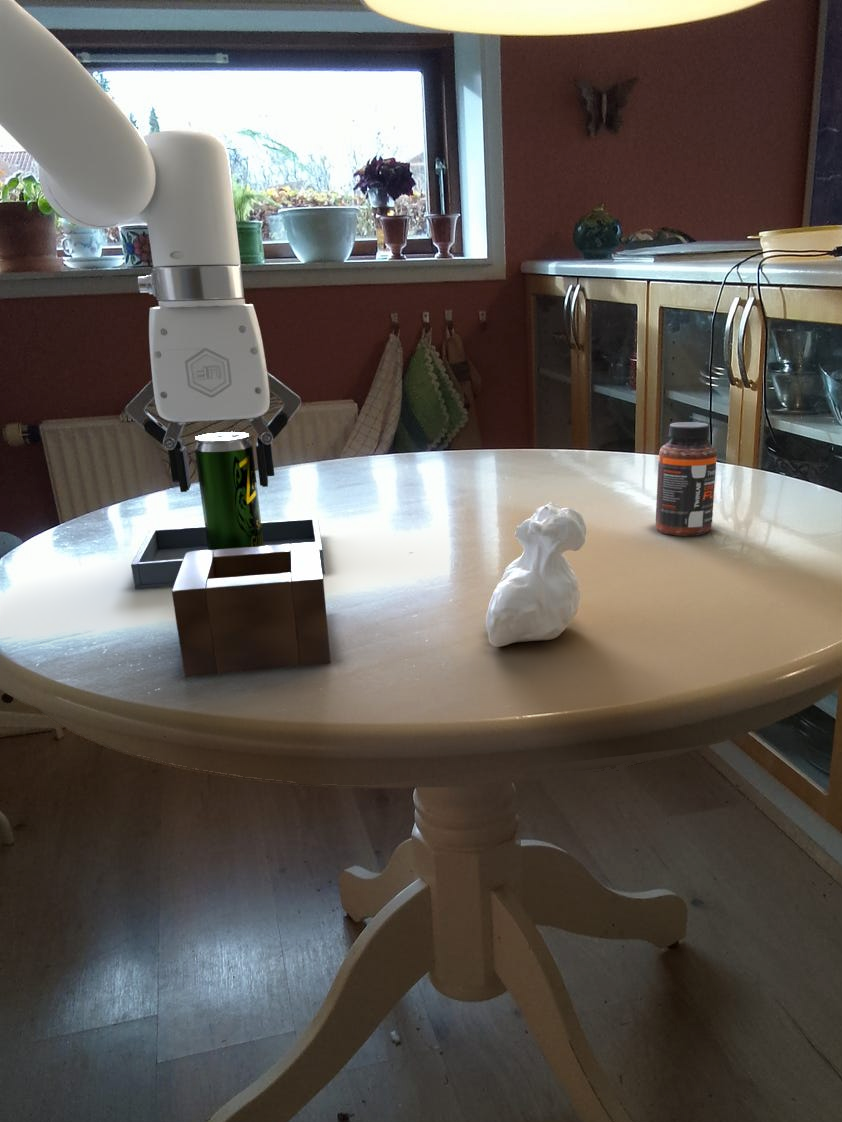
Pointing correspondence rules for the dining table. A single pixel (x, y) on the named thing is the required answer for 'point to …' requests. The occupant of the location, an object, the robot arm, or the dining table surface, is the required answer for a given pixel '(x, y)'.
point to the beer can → (228, 490)
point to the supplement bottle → (686, 481)
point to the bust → (538, 580)
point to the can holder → (251, 609)
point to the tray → (206, 548)
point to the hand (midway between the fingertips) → (225, 485)
